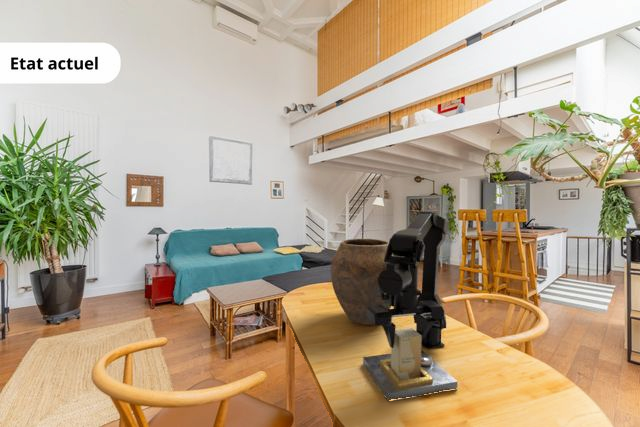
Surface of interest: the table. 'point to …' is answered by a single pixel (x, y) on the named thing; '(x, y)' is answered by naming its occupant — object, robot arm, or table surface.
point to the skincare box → (406, 354)
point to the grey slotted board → (393, 388)
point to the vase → (358, 276)
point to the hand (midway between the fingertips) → (405, 345)
